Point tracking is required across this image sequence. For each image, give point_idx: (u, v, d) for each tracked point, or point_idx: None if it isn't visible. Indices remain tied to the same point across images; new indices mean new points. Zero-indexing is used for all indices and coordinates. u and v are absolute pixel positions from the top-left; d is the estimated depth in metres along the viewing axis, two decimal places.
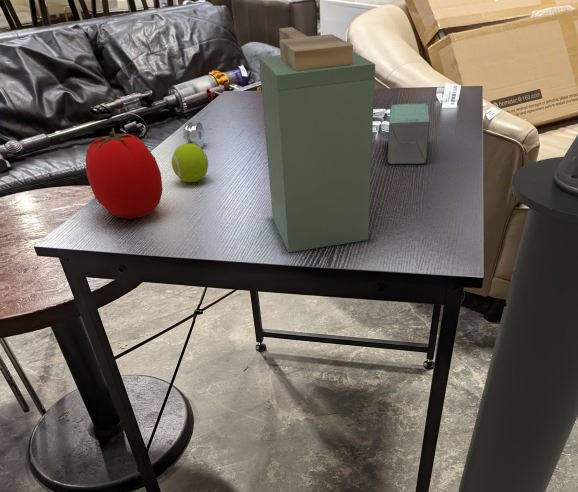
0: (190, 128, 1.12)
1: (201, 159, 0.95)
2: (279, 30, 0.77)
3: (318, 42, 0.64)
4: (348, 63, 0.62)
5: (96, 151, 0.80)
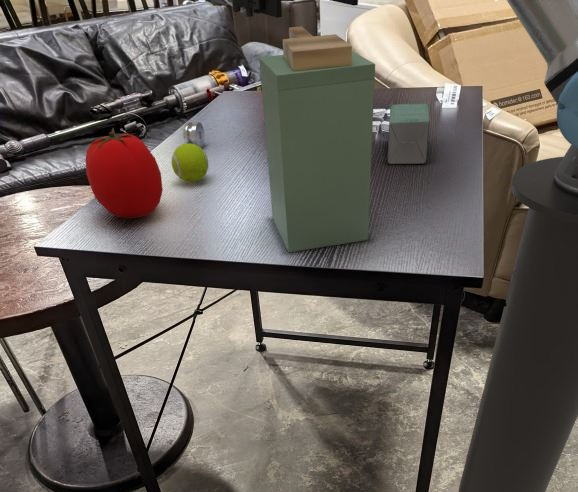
0: (190, 128, 1.12)
1: (201, 159, 0.95)
2: None
3: (319, 42, 0.64)
4: (347, 64, 0.62)
5: (96, 151, 0.80)
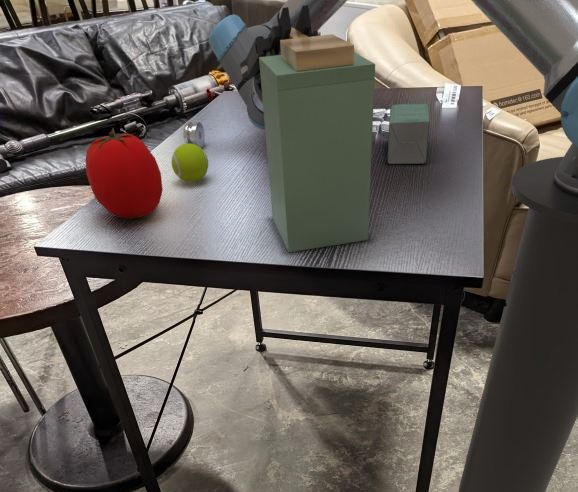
0: (190, 128, 1.12)
1: (201, 159, 0.95)
2: None
3: (319, 42, 0.64)
4: (349, 63, 0.62)
5: (96, 151, 0.80)
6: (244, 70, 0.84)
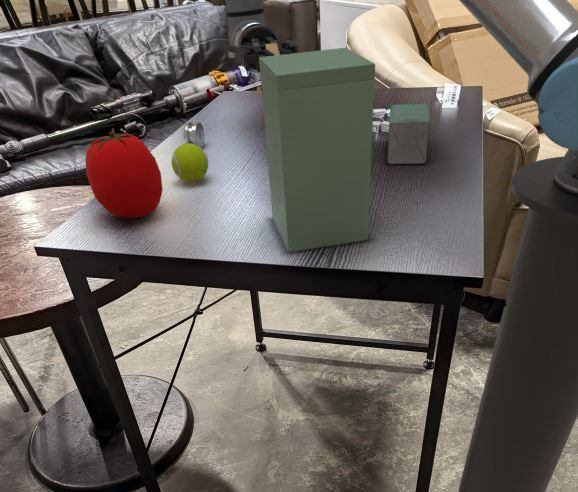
0: (190, 128, 1.12)
1: (201, 159, 0.95)
2: (265, 45, 0.90)
3: None
4: None
5: (96, 151, 0.80)
6: (231, 56, 0.96)
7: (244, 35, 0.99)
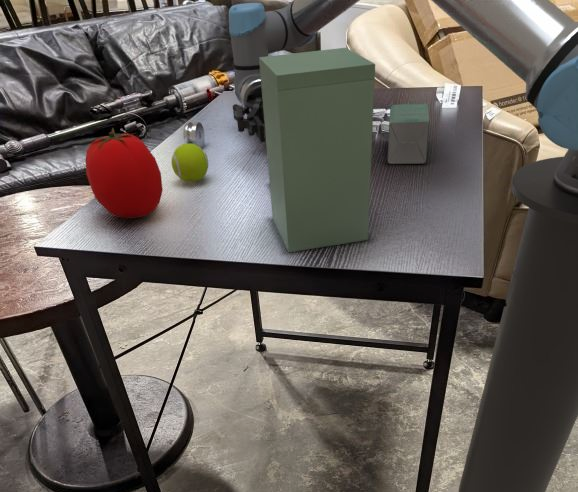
0: (190, 128, 1.12)
1: (201, 159, 0.95)
2: None
3: None
4: None
5: (96, 151, 0.80)
6: (235, 114, 1.04)
7: (250, 93, 1.05)
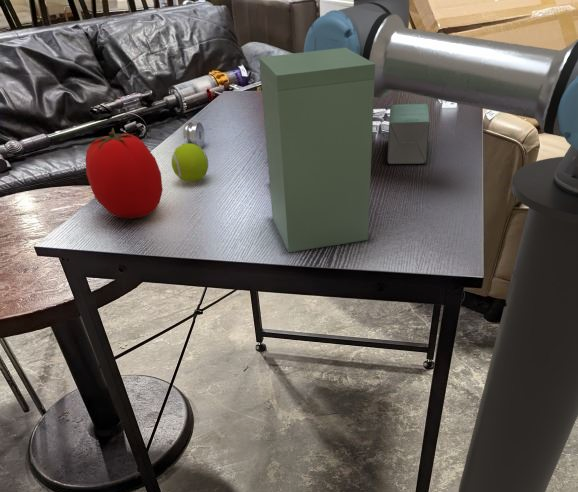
0: (190, 128, 1.12)
1: (201, 159, 0.95)
2: None
3: None
4: None
5: (96, 151, 0.80)
6: None
7: None
